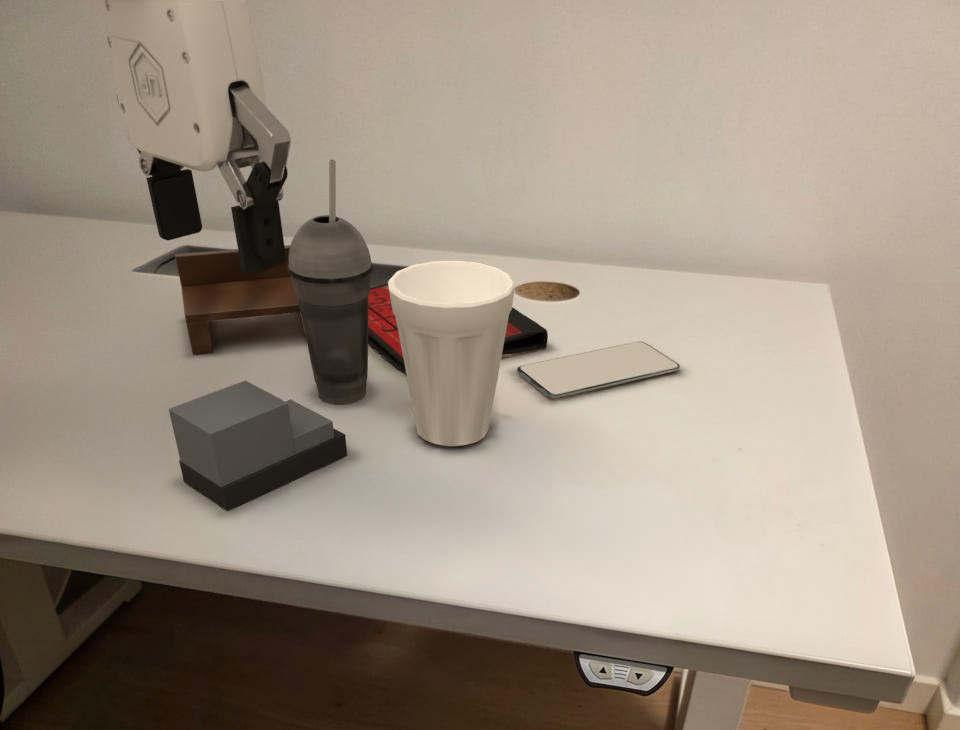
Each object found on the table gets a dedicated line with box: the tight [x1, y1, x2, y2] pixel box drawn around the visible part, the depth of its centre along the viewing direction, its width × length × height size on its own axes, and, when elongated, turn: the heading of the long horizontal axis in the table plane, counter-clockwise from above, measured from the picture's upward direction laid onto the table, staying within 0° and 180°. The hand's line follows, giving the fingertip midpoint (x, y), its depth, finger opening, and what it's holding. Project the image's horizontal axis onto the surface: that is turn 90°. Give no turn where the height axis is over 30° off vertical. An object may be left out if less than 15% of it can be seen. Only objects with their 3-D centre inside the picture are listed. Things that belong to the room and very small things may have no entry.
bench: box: [174, 244, 301, 355], centre depth 93 cm, size 14×9×7 cm, turn 106°
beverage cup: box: [288, 159, 374, 406], centre depth 78 cm, size 7×7×20 cm
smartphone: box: [516, 340, 681, 399], centre depth 88 cm, size 7×1×15 cm
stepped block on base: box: [168, 380, 348, 512], centre depth 72 cm, size 12×6×6 cm, turn 136°
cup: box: [387, 260, 516, 447], centre depth 75 cm, size 10×10×13 cm
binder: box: [368, 282, 549, 372], centre depth 96 cm, size 16×2×21 cm
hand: (221, 251), depth 61 cm, fingers open, 9 cm apart
